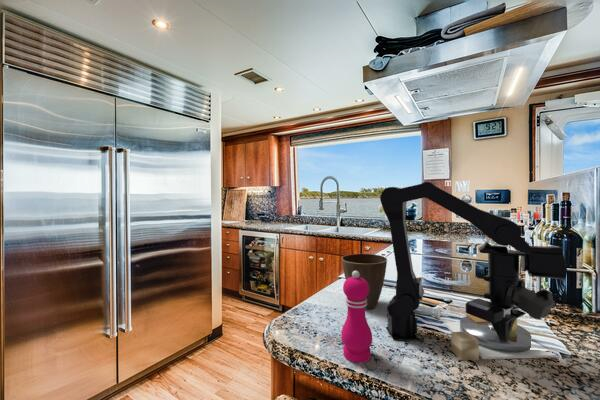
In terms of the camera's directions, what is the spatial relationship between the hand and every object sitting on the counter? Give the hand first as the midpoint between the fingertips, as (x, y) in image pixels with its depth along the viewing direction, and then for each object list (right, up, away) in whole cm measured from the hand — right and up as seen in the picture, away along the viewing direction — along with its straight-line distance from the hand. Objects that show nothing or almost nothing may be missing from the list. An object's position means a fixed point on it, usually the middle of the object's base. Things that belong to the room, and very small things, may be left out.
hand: (503, 341), depth 64 cm
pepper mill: (-33, -4, +2) cm, 34 cm away
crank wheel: (+3, -3, +8) cm, 9 cm away
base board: (+3, -3, +8) cm, 9 cm away
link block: (-8, -4, +1) cm, 9 cm away
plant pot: (-25, -4, +31) cm, 40 cm away
